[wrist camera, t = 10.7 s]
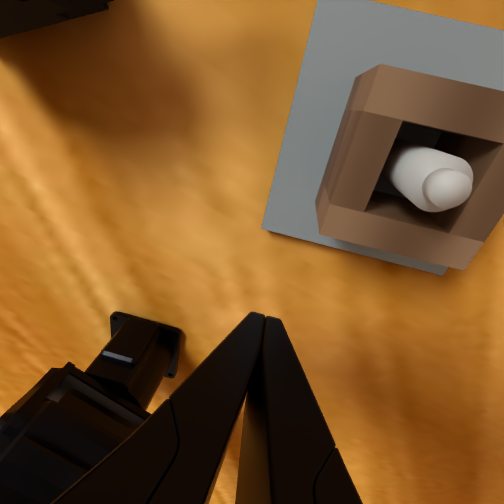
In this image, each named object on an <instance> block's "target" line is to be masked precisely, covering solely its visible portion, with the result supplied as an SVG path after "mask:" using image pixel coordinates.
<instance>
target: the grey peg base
mask: <svg viewBox="0 0 504 504" xmlns="http://www.w3.org/2000/svg"><path fill="white" fill-rule="evenodd" d="M379 64H384V65H389V66H393V67H398V68H402V69H407V70H411V71H416V72H420V73H425V74H429V75H434V76H438V77H443V78H447V79H451V80H456V81H460V82H465V83H469V84H474V85H478V86H483V87H487V88H492V89H496V90H501V91H504V30H500V29H495V28H491V27H486V26H482V25H477V24H473V23H468V22H464V21H459V20H455V19H450V18H446V17H441V16H437V15H432V14H428V13H423V12H419V11H414V10H410V9H405V8H401V7H396V6H392V5H388V4H383V3H379V2H374V1H370V0H318V1H317V5H316V9H315V13H314V17H313V21H312V25H311V29H310V33H309V37H308V41H307V45H306V50H305V54H304V58H303V62H302V66H301V70H300V74H299V78H298V82H297V86H296V90H295V94H294V98H293V102H292V106H291V110H290V114H289V118H288V122H287V126H286V130H285V134H284V138H283V142H282V146H281V150H280V154H279V159H278V163H277V167H276V171H275V175H274V179H273V183H272V187H271V191H270V195H269V199H268V203H267V207H266V211H265V215H264V219H263V223H262V227H261V229H265V230H268V231H272V232H276V233H280V234H284V235H288V236H291V237H295V238H299V239H303V240H307V241H311V242H315V243H318V244H322V245H326V246H330V247H334V248H338V249H341V250H345V251H349V252H353V253H357V254H361V255H364V256H368V257H372V258H376V259H380V260H384V261H387V262H391V263H395V264H399V265H403V266H407V267H411V268H414V269H418V270H422V271H426V272H430V273H434V274H437V275H441V276H443V275H444V274H445V272H446V271H447V269H448V268H449V267H446V266H443V265H439V264H435V263H431V262H427V261H423V260H419V259H415V258H411V257H407V256H403V255H399V254H395V253H391V252H387V251H383V250H379V249H375V248H371V247H367V246H363V245H359V244H355V243H351V242H347V241H343V240H340V239H336V238H332V237H328V236H324V235H320V234H319V228H318V221H317V214H316V206H315V199H316V196H317V193H318V190H319V187H320V184H321V181H322V178H323V175H324V172H325V169H326V165H327V162H328V159H329V156H330V153H331V150H332V147H333V144H334V141H335V138H336V135H337V132H338V129H339V126H340V123H341V120H342V116H343V113H344V110H345V107H346V104H347V101H348V98H349V95H350V92H351V89H352V86H353V83H354V80H355V77H357V76H359V75H360V74H362V73H364V72H366V71H368V70H369V69H371V68H373V67H375V66H377V65H379ZM441 133H442V132H439V131H435V130H431V129H426V128H422V127H418V126H414V125H409V124H405V123H402V124H401V126H400V129H399V131H398V133H397V136H396V138H395V140H394V143H393V145H392V147H391V150H390V152H389V154H388V157H387V159H386V162H385V164H384V166H383V169H382V171H381V173H380V176H379V178H378V180H377V183H376V185H375V187H374V190H375V191H379V192H383V193H387V194H391V195H396V196H400V197H404V198H408V199H409V200H410V201H411V202H412V203H413V204H415V205H416V206H417V207H418V208H420V209H422V210H424V211H428V212H440V211H444V210H447V209H450V208H454V207H456V206H459V205H460V204H462V203H463V202H464V201H465V200H466V199H467V198H468V197H469V195H470V193H471V191H472V183H473V172H472V169H471V167H470V165H469V164H468V163H467V162H466V161H465V160H464V159H462V158H459V157H456V156H453V155H450V154H447V153H444V152H441V151H438V150H435V149H434V147H435V145H436V143H437V141H438V139H439V137H440V135H441Z"/></svg>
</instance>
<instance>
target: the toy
mask: <svg viewBox="0 0 504 504" xmlns="http://www.w3.org/2000/svg"><path fill="white" fill-rule="evenodd" d="M110 1H113V0H0V38H3V37H6V36H10V35H14V34H18V33H21V32H25V31H29V30H32V29H36V28H40V27H44V26H47V25H51V24H55V23H59V22H62V21H66V20H70V19H73V18H77V17H81V16H85V15H88V14H92V13H96V12H100V11H103V10H107V9H109V8H108V5H107V2H110Z"/></svg>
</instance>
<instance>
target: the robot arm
mask: <svg viewBox="0 0 504 504" xmlns="http://www.w3.org/2000/svg"><path fill="white" fill-rule="evenodd" d="M110 325H111V340H110V341H109V342H108V343H107V344H106V346H105V347H104V348H103V349H102V351H101V352H100V354H99V355H98V356H97V357H96V358H95V360H94V361H93V362H92V363H91V365H90V366H89V367H88V368H87V369H86V371H85V372H83V371H81V370H80V369H78V368H76V367H75V365H74V364H73V363H71V362H68V363H67V364H66V365H65V366H64V367H63V368H51V369H50V370H49V371H48V372H47V373H46V374H45V375H44V376H43V378H42V379H41V380H40V381H39V382H38V383H37V384H36V385H35V386H34V387H33V388H32V389H31V390H30V391H28V392H27V393H26V394H25V395H24V396H23V397H22V398H21V399H20V400H18V401H17V402H16V403H15V404H14V405H13V406H12V407H11V408H10V409H8V410H7V411H6V412H5V413H4V414H3V415H2V416H1V417H0V504H209V501H210V498H211V495H212V493H213V490H214V487H215V484H216V481H217V478H218V475H219V472H220V470H221V467H222V464H223V461H224V458H225V455H226V452H227V449H228V447H229V444H230V441H231V438H232V435H233V432H234V429H235V426H236V423H237V421H238V418H239V415H240V412H241V409H242V406H243V403H244V400H245V397H246V401H245V409H244V419H243V430H242V440H241V450H240V460H239V470H238V480H237V490H236V500H235V504H363V503H362V501H361V499H360V496H359V494H358V492H357V490H356V488H355V486H354V484H353V481H352V479H351V477H350V475H349V473H348V471H347V468H346V466H345V464H344V462H343V459H342V457H341V455H340V452H339V450H338V448H335V446H336V444H335V441H334V439H333V437H332V435H331V432H330V430H329V428H328V425H327V423H326V421H325V419H324V416H323V414H322V412H321V409H320V407H319V405H318V403H317V400H316V398H315V396H314V394H313V391H312V389H311V387H310V384H309V382H308V380H307V378H306V375H305V373H304V371H303V368H302V366H301V364H300V362H299V359H298V357H297V355H296V353H295V350H294V348H293V346H292V343H291V341H290V339H289V337H288V334H287V332H286V330H285V328H284V325H283V323H282V321H281V320H280V319H279V318H275V317H271V316H266V317H265V315H264V314H260V313H257V312H250V313H249V314H248V315H247V316H246V317H245V318H244V319H243V320H242V321H241V322H240V323H239V324H238V325H237V326H236V327H235V328H234V329H233V330H232V332H231V333H230V334H229V335H228V336H227V337H226V338H225V339H224V340H223V341H222V342H221V343H220V344H219V345H218V346H217V347H216V348H215V349H214V350H213V351H212V352H211V353H210V354H209V356H208V357H207V358H206V359H205V360H204V361H203V362H202V363H201V364H200V365H199V366H198V367H197V368H196V369H195V370H194V371H193V372H192V373H191V374H190V375H189V376H188V377H187V378H186V379H185V381H184V382H183V383H182V384H181V385H180V386H179V387H178V388H177V389H176V390H175V391H174V392H173V393H172V394H171V395H170V396H169V399H166V400H165V401H164V402H163V403H162V404H161V405H160V406H159V407H158V408H157V409H156V411H155V412H154V413H153V414H150V413H149V412H147V411H146V410H147V408H148V406H149V404H150V402H151V400H152V398H153V396H154V394H155V392H156V390H157V388H158V386H159V384H160V382H161V380H162V378H163V377H164V376H165V377H168V378H174V377H175V375H176V373H177V365H178V356H179V347H180V339H181V331H180V330H179V329H178V328H175V327H171V326H168V325H164V324H160V323H157V322H153V321H150V320H146V319H142V318H139V317H135V316H132V315H128V314H125V313H121V312H117V311H115V312H113V313H112V315H111V316H110ZM246 394H247V395H246Z"/></svg>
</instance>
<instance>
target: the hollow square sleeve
mask: <svg viewBox="0 0 504 504" xmlns="http://www.w3.org/2000/svg"><path fill="white" fill-rule="evenodd" d="M402 123H405V124H409V125H414V126H418V127H422V128H426V129H431V130H435V131H439V132H442V133H441V135H440V137H439V139H438V141H437V143H436V145H435V147H434V149H435V150H438V151H441V152H444V153H447V154H450V155H453V156H456V157H459V158H462V159H464V160H465V161H466V162H467V163H468V164H469V165H470V167H471V169H472V172H473V183H472V191H471V193H470V195H469V197H468V198H467V199H466V200H465V201H464V202H463V203H462V204H460V205H459V206H456V207H454V208H450V209H447V210H444V211H440V212H428V211H424V210H422V209H420V208H418V207H417V206H416V205H415V204H413V203H412V202H411V201H410V200H409V199H408V198H404V197H400V196H396V195H391V194H387V193H383V192H379V191H375V190H374V187H375V185H376V183H377V180H378V178H379V176H380V173H381V171H382V169H383V166H384V164H385V162H386V159H387V157H388V154H389V152H390V150H391V147H392V145H393V143H394V140H395V138H396V136H397V133H398V131H399V129H400V126H401V124H402ZM315 206H316V214H317V221H318V228H319V234H320V235H324V236H328V237H332V238H336V239H340V240H343V241H347V242H351V243H355V244H359V245H363V246H367V247H371V248H375V249H379V250H383V251H387V252H391V253H395V254H399V255H403V256H407V257H411V258H415V259H419V260H423V261H427V262H431V263H435V264H439V265H443V266H446V267H450V268H454V269H458V270H462V271H465V269H466V268H467V266H468V265H469V263H470V262H471V260H472V259H473V257H474V256H475V255H476V253H477V252H478V250H479V249H480V247H481V246H482V244H483V243H484V242H485V240H486V239H487V237H488V236H489V234H490V233H491V231H492V230H493V228H494V227H495V226H496V224H497V223H498V221H499V220H500V218H501V217H502V215H503V214H504V91H501V90H496V89H492V88H487V87H483V86H478V85H474V84H469V83H465V82H460V81H456V80H451V79H447V78H443V77H438V76H434V75H429V74H425V73H420V72H416V71H411V70H407V69H402V68H398V67H393V66H389V65H384V64H379V65H377V66H375V67H373V68H371V69H369V70H368V71H366V72H364V73H362V74H360V75H359V76H357V77H355V80H354V83H353V86H352V89H351V92H350V95H349V98H348V101H347V104H346V107H345V110H344V113H343V116H342V120H341V123H340V126H339V129H338V132H337V135H336V138H335V141H334V144H333V147H332V150H331V153H330V156H329V159H328V162H327V165H326V169H325V172H324V175H323V178H322V181H321V184H320V187H319V190H318V193H317V196H316V199H315Z"/></svg>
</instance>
